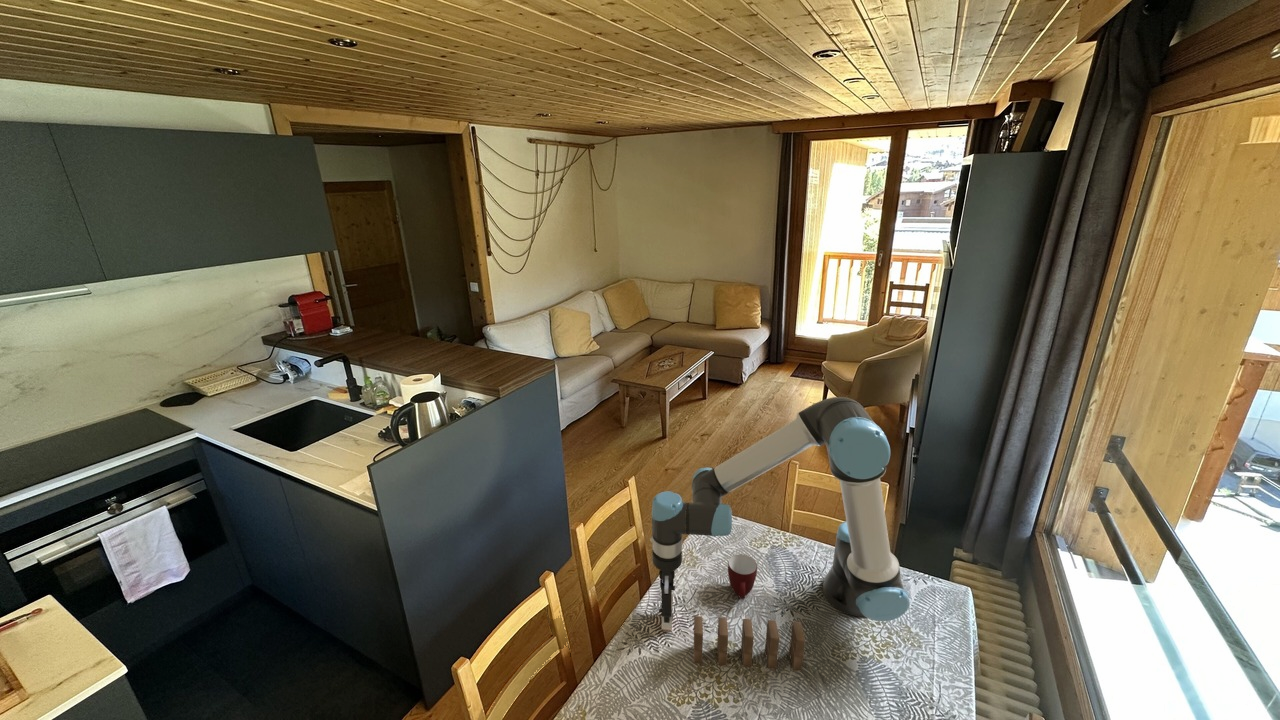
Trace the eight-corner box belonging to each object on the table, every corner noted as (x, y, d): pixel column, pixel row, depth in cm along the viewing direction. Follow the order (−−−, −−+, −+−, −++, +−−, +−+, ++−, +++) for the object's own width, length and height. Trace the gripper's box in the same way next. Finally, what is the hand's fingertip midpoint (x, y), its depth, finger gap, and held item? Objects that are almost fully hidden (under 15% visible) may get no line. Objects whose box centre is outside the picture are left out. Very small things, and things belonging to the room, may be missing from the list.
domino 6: (797, 652, 124) (800, 621, 120) (801, 670, 119) (805, 639, 116) (788, 651, 124) (792, 621, 121) (792, 670, 119) (796, 639, 116)
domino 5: (773, 650, 124) (775, 620, 121) (776, 668, 120) (779, 638, 116) (764, 650, 124) (767, 620, 121) (767, 668, 120) (770, 637, 116)
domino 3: (725, 647, 125) (726, 617, 122) (726, 665, 121) (728, 635, 117) (716, 647, 126) (718, 617, 122) (718, 665, 121) (719, 634, 117)
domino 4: (748, 649, 125) (751, 619, 121) (751, 667, 120) (753, 636, 117) (740, 648, 125) (742, 618, 122) (742, 666, 120) (744, 636, 117)
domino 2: (701, 646, 126) (702, 616, 123) (702, 664, 121) (703, 633, 118) (693, 645, 126) (693, 615, 123) (693, 663, 121) (694, 633, 118)
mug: (759, 610, 136) (761, 581, 133) (729, 609, 136) (731, 581, 133) (752, 581, 146) (754, 554, 143) (725, 580, 146) (726, 553, 143)
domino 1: (671, 615, 135) (671, 586, 132) (670, 630, 130) (670, 601, 127) (663, 614, 135) (663, 586, 132) (662, 630, 131) (662, 601, 127)
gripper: (654, 525, 133) (655, 592, 141) (649, 575, 116) (651, 648, 124) (682, 526, 133) (681, 593, 140) (681, 576, 116) (680, 650, 124)
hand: (667, 619), depth 132 cm, fingers closed on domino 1, 5 cm apart
